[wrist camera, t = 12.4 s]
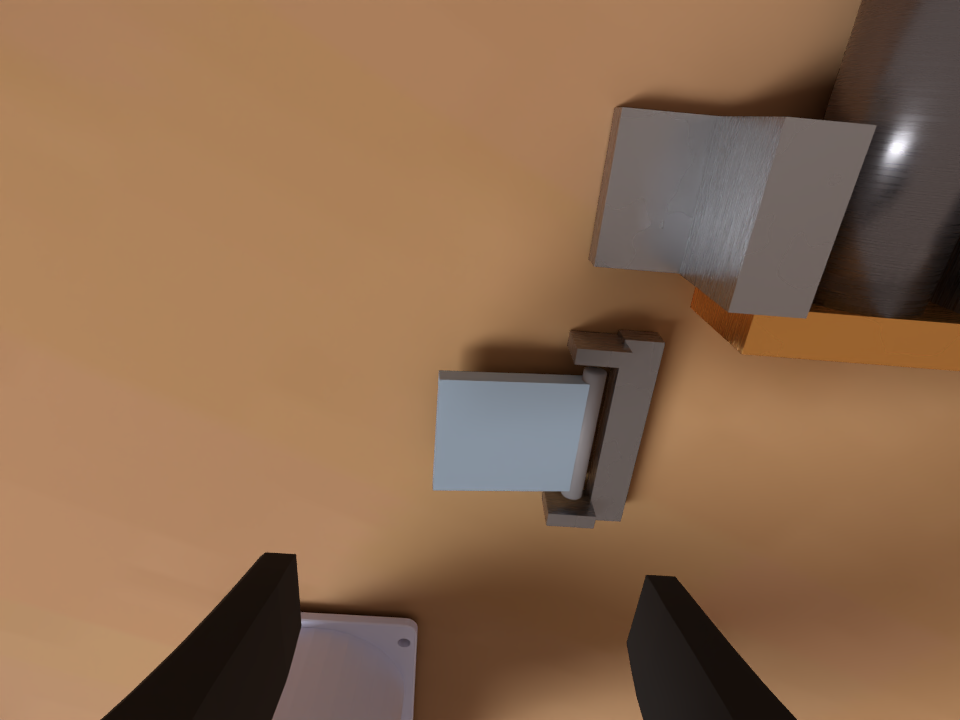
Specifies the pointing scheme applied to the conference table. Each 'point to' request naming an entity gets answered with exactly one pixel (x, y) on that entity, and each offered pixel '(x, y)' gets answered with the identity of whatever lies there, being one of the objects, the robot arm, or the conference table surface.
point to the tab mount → (611, 423)
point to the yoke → (734, 205)
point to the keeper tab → (516, 430)
